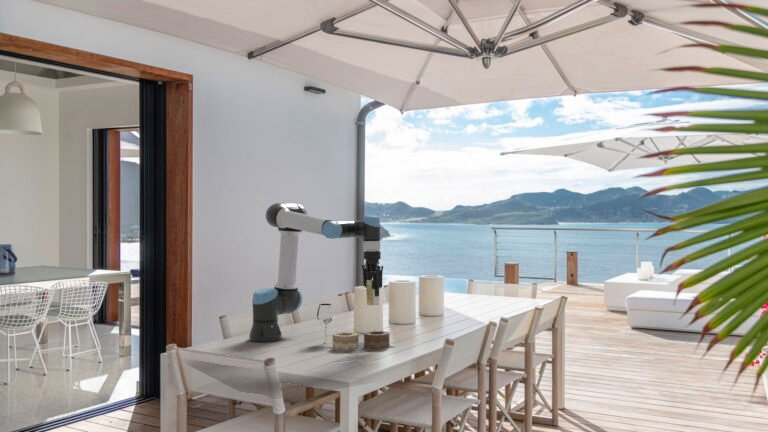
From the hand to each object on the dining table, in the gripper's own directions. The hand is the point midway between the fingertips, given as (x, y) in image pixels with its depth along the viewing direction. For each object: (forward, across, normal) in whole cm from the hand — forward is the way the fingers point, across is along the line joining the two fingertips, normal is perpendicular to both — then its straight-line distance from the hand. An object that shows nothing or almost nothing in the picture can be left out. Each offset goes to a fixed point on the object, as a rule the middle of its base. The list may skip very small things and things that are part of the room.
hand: (372, 303), depth 296 cm
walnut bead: (+19, -3, 0) cm, 19 cm away
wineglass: (+19, +19, +13) cm, 30 cm away
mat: (+19, 0, +6) cm, 20 cm away
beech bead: (+19, +3, +13) cm, 23 cm away
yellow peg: (+1, 0, 0) cm, 1 cm away
